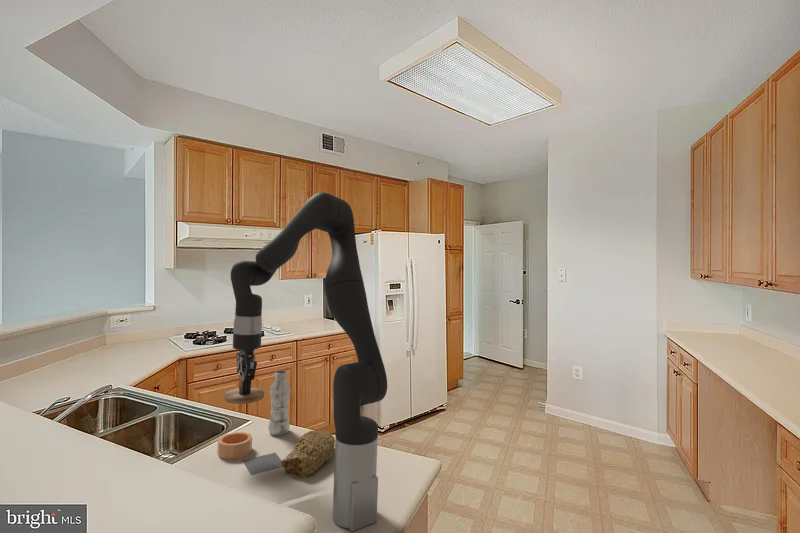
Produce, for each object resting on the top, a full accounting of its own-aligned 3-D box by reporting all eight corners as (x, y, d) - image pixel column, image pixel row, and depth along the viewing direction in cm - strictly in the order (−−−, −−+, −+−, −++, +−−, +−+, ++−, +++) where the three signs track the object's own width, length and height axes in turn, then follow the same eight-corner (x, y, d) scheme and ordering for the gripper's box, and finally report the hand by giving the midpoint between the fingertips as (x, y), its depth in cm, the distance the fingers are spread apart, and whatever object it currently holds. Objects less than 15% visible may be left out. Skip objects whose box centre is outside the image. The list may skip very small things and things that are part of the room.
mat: (285, 468, 104) (286, 465, 104) (251, 478, 99) (251, 474, 99) (275, 455, 112) (275, 452, 112) (242, 463, 107) (242, 460, 107)
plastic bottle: (273, 440, 121) (276, 376, 122) (264, 433, 126) (267, 371, 127) (293, 435, 126) (295, 372, 126) (283, 428, 131) (285, 368, 131)
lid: (268, 400, 110) (269, 378, 110) (228, 406, 104) (229, 382, 104) (258, 389, 118) (259, 369, 118) (221, 394, 112) (222, 373, 112)
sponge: (313, 488, 98) (352, 441, 116) (306, 459, 97) (345, 417, 115) (273, 485, 103) (315, 441, 121) (265, 457, 102) (309, 417, 121)
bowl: (254, 456, 111) (255, 440, 111) (221, 464, 105) (221, 447, 106) (246, 445, 118) (247, 430, 118) (214, 452, 113) (215, 436, 113)
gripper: (268, 334, 107) (265, 397, 107) (254, 326, 119) (251, 383, 119) (239, 336, 103) (236, 401, 103) (228, 327, 115) (225, 386, 115)
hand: (244, 391), depth 111 cm, fingers closed on lid, 3 cm apart
